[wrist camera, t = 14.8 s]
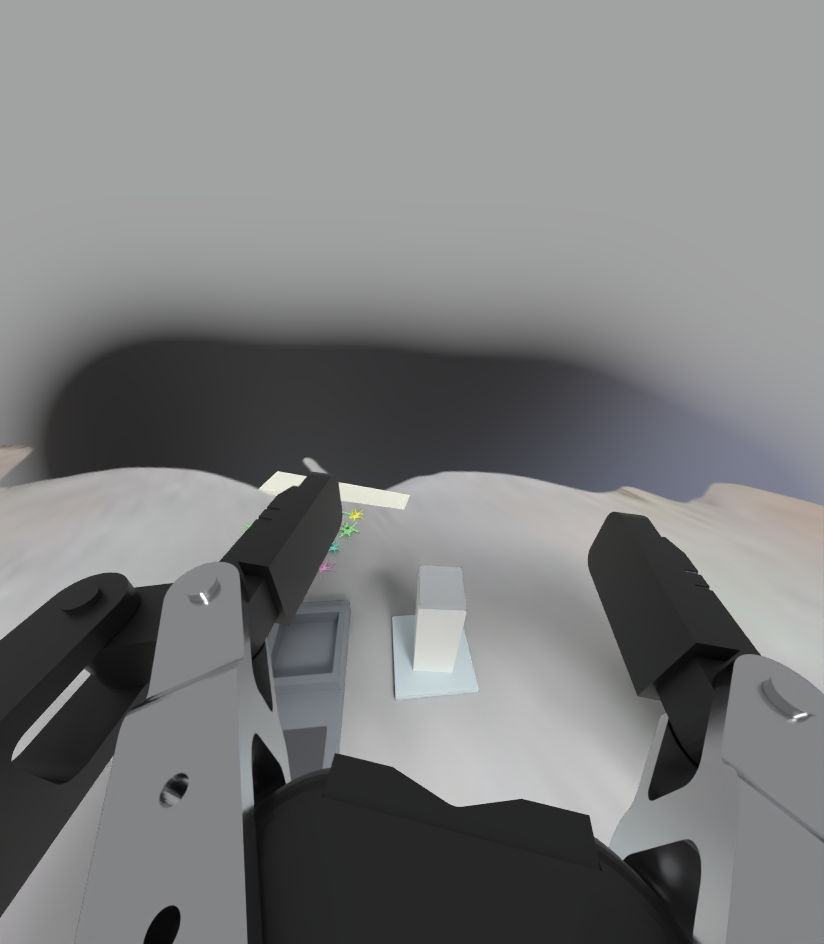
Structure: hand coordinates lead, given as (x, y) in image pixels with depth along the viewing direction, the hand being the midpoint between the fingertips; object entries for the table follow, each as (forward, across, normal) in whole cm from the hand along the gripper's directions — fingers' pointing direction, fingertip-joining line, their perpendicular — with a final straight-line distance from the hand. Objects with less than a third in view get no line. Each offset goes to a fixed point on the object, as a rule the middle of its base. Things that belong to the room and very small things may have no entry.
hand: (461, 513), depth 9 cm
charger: (+11, 0, +31) cm, 33 cm away
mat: (+11, 0, +32) cm, 34 cm away
